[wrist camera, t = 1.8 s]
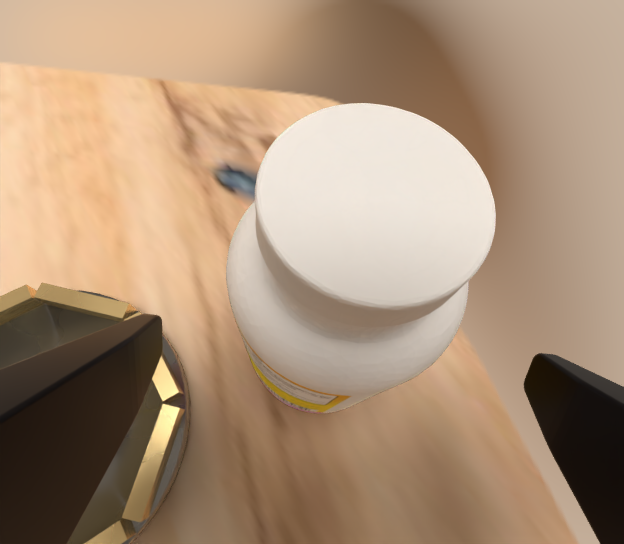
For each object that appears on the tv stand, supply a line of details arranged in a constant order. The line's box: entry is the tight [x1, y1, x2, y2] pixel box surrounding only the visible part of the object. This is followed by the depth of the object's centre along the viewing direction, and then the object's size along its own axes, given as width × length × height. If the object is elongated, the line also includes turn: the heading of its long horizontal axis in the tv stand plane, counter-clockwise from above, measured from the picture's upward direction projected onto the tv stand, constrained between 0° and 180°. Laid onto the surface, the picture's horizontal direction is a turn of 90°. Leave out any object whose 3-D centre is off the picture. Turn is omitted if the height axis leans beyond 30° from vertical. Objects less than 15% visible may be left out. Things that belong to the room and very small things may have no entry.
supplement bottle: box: [226, 103, 496, 413], centre depth 13 cm, size 7×7×13 cm
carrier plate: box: [0, 283, 190, 544], centre depth 16 cm, size 12×12×2 cm
